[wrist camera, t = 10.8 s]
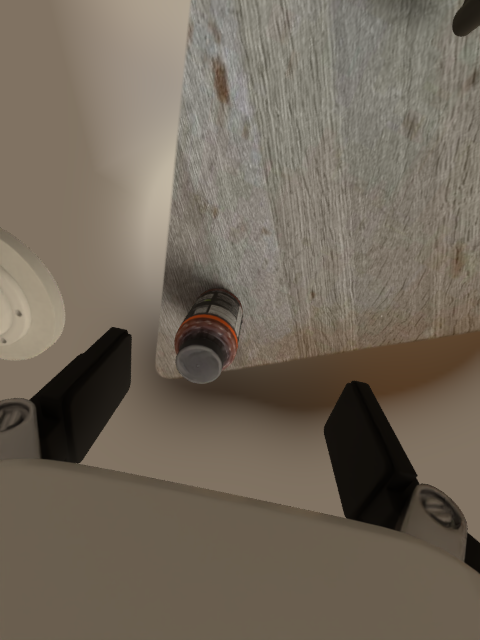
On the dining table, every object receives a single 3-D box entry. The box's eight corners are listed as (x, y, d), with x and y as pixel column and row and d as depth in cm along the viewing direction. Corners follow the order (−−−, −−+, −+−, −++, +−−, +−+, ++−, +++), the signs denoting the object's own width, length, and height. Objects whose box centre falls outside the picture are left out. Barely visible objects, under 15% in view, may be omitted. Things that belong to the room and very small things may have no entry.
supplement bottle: (219, 339, 34) (199, 404, 24) (185, 307, 32) (148, 362, 22) (253, 312, 31) (247, 370, 21) (219, 276, 30) (194, 321, 20)
